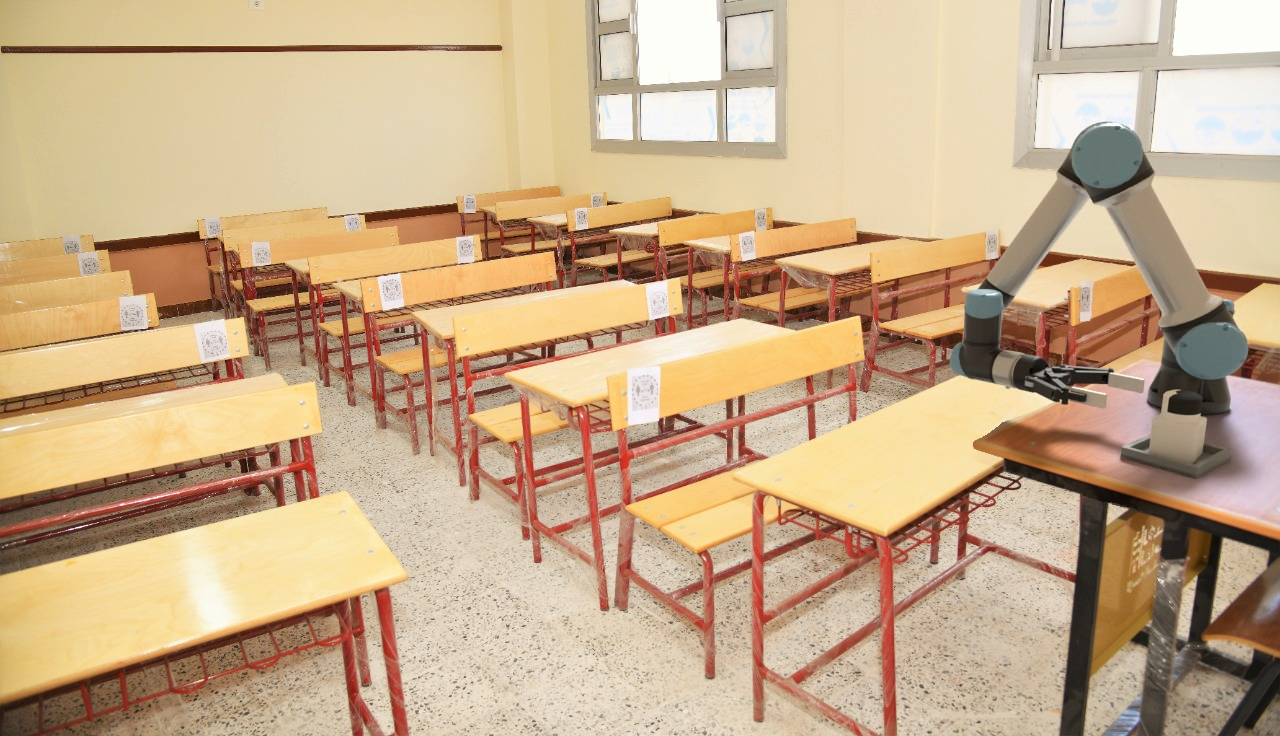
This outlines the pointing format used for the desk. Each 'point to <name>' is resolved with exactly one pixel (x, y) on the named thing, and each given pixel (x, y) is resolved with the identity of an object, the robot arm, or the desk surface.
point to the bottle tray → (1205, 462)
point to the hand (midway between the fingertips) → (1124, 393)
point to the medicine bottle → (1179, 427)
